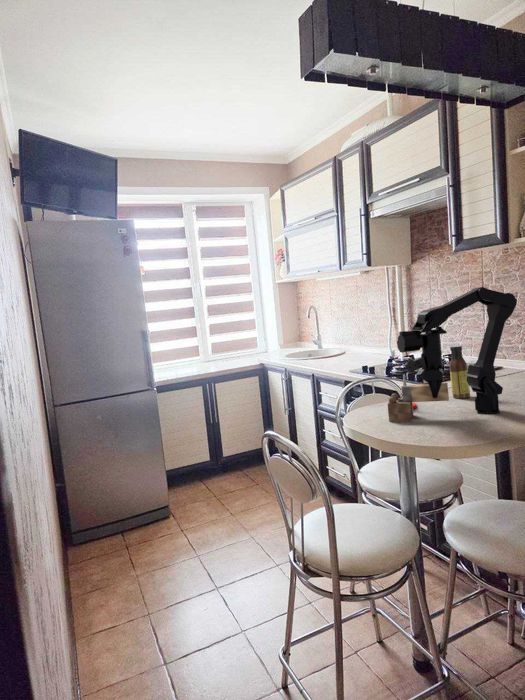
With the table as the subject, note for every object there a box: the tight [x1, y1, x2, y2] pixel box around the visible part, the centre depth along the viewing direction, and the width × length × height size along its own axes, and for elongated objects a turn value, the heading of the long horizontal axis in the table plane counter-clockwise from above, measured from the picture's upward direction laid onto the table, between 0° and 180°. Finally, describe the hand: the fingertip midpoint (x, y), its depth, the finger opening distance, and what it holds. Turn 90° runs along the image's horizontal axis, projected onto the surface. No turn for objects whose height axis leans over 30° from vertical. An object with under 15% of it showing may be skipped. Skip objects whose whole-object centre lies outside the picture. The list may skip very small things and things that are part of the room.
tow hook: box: [402, 373, 418, 410], centre depth 161 cm, size 8×13×9 cm
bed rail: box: [401, 382, 450, 403], centre depth 142 cm, size 14×4×5 cm, turn 66°
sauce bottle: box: [448, 345, 471, 399], centre depth 166 cm, size 6×6×20 cm
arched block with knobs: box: [387, 392, 414, 422], centre depth 146 cm, size 7×8×8 cm
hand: (435, 396), depth 141 cm, fingers closed on bed rail, 4 cm apart
